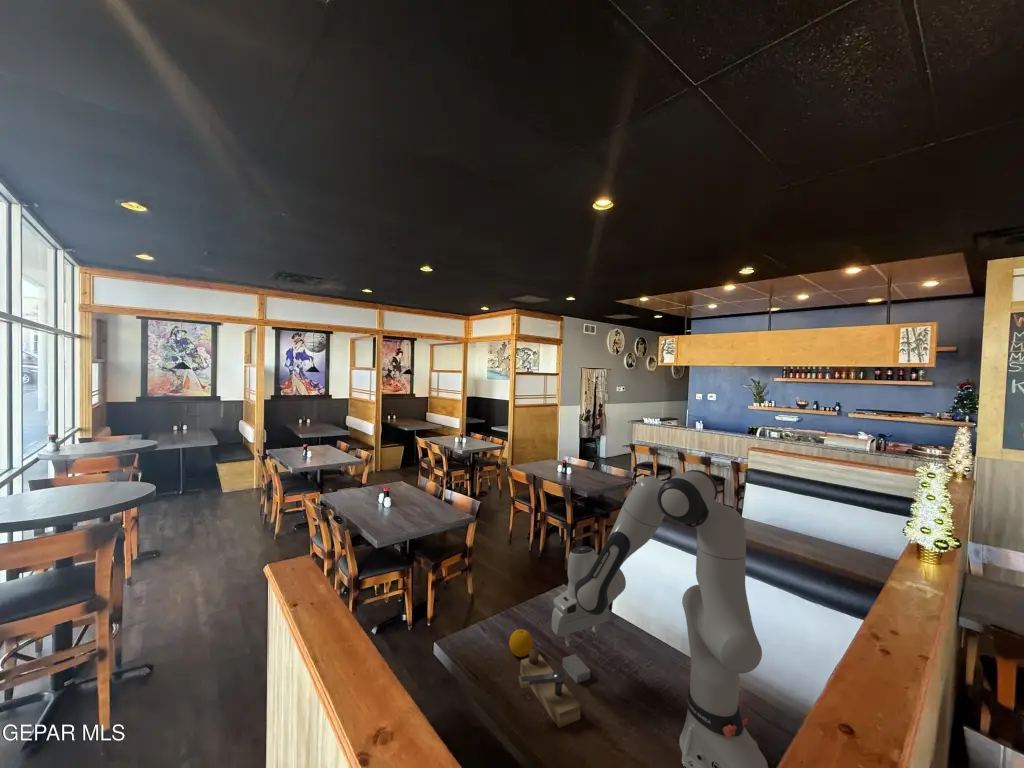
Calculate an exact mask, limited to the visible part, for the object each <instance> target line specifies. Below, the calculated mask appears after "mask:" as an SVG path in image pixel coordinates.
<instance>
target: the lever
mask: <svg viewBox="0 0 1024 768" xmlns="http://www.w3.org/2000/svg"><path fill="white" fill-rule="evenodd" d="M553 671H554V672H553V673H551V674H543V675H534V676H527V675H521V674H520V675H518V679H517V680H518V683H519V686H520V688H521V689H523V688H530V686H529V685H535V684H543V683H552V682H554V683H556V684H564V685H565V683H566V673H565V672H564V671H563V670H561V669H555V670H553Z"/></svg>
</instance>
